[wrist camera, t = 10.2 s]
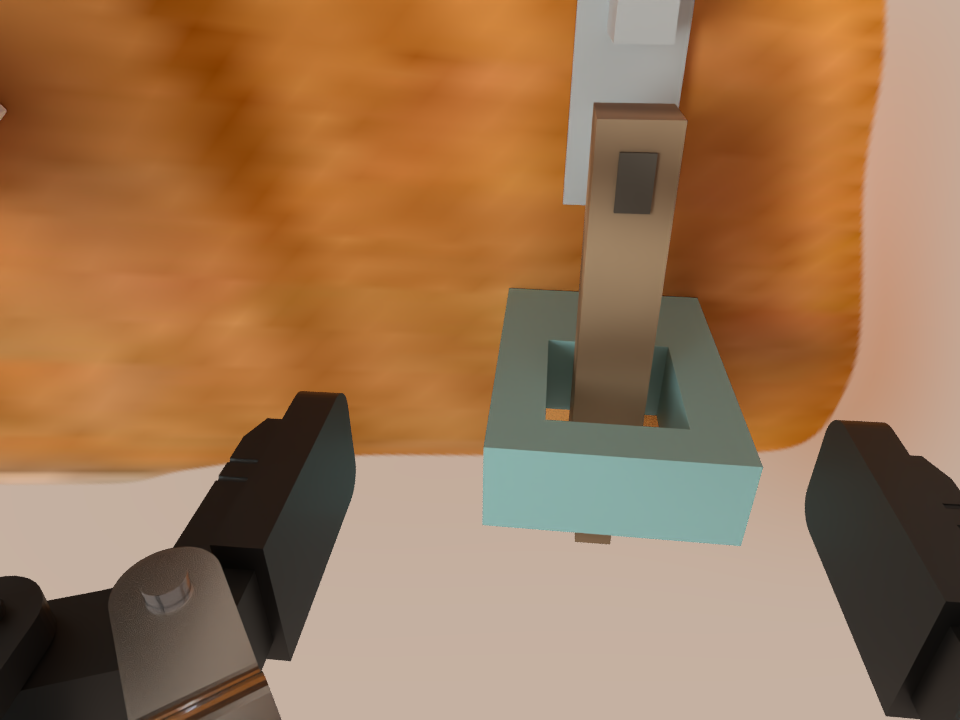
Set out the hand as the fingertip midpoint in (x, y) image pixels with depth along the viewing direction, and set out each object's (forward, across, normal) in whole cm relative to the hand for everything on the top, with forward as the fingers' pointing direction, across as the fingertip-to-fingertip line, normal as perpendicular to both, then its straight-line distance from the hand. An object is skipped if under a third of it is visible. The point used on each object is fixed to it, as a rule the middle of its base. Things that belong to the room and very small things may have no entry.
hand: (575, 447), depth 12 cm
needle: (+16, -2, +7) cm, 18 cm away
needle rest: (+21, -2, -3) cm, 22 cm away
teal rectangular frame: (+21, -2, +9) cm, 23 cm away
